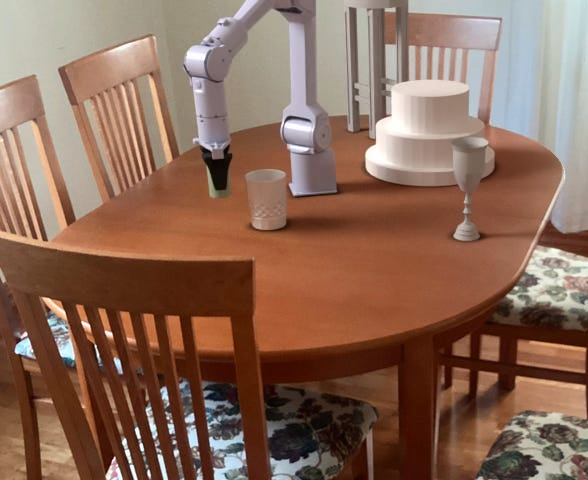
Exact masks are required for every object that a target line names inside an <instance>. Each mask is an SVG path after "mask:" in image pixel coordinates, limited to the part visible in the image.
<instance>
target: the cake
mask: <svg viewBox="0 0 588 480" xmlns="http://www.w3.org/2000/svg"><path fill="white" fill-rule="evenodd" d="M390 91H391V97H390V98H391V115H390V116H386V118H384V119H382V120H380V121H378V122H377V123H376V139H375V144H374V145H373V144H372V145H371V146H370V147H369V148H368V149H367V150H366V151H365V154H364V157H365V158H364V159H365V169H366V171H367V172H368V173H369V174H370V175H371V176H373V177H375V178H377V179H379V180H382V181H385V182H388V183H392V184H396V185H397V184H398V185H404V186H413V187H446V186H455V185H458V183H457V180H456V178H455V175H454V171H453V147H452V145H451V141H452V140H454V139H457V138H462V137H478V138H483V139H485V129H486V127H485V126H486V125H485V122H484V121H483V120H481V119H480V118H478V117H475V116H472V115H469V114H470V86H469V85H468V84H466V83H463V82H460V81H455V80H449V79H448V80H446V79H415V80H409V81H407V82H402V83H398V84H396V85H394V86H392V85H391V90H390ZM495 155H496V153H495V150H494V149H493V148H492V147H491V146H489V145H487V147H486V152H485V170H484V173H483V175H482V178H481V179H484V178H486V177H487V176H489V175H490V174H491V173H493V171H494V169H495V159H496V158H495V157H496V156H495Z"/></svg>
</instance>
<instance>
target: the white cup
mask: <svg viewBox="0 0 588 480" xmlns="http://www.w3.org/2000/svg"><path fill="white" fill-rule="evenodd" d="M244 182H245V189H246V197H247V203H248V208H249V213H250V217H251V224H252V225H251V226H252V227H253V228H254V229H256V230H260V231H274V230H279V229H281V228H284V227H285V226H286V225H287V174H286V172H284V171H283V170H279V169H272V168H263V169H256V170H252V171H249V172H247V173H245V174H244Z"/></svg>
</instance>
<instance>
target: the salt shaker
mask: <svg viewBox="0 0 588 480" xmlns="http://www.w3.org/2000/svg"><path fill="white" fill-rule="evenodd" d="M205 168H206V175H207V184H208V193H209V197H210V198H213V199H226V198H229V197H231V196H232V195H233V194H232V184H231V175H230V168H229V169H228V179H227V188H226V190H218V191H216V190H215V188H214V185H213V182H212V178H211V175H210V172H209V169H208V167H207V165H206V164H205Z"/></svg>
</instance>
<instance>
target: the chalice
mask: <svg viewBox="0 0 588 480" xmlns="http://www.w3.org/2000/svg"><path fill="white" fill-rule="evenodd" d="M489 142H490V141H488V139H486V138H484V139H483V138H478V137H462V138H457V139H454V140H452V141H451V145H452V147H453V171H454V175H455V178H456V180H457V183H458V184H457V185H458V187H459V188H460V191H461V192H463V193H464V194H465V198H464V200H463V204H464V210H463V211H462V213H463V214H464V220H463V221H462V222H460V223H458V225H457V226H456V229H455V232H454V234H453V238H454V239H456V240H458V241H464V242H473V241H477V240H478V239H480V237H481V235H480V234H479V230H478V229H477V225H476V224H475V223H473V222H472V221H471V218H470V217H471V214H472V213H473V210H471V204H473V201H472V198H471V195H472V193H473V192H475V191H476V190H477V188H478V187H479V184H480V182H481V180H482V179H483V178H482V175H483V173H484V170H485V152H486V147H487V146H489V144H490V143H489Z"/></svg>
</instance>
